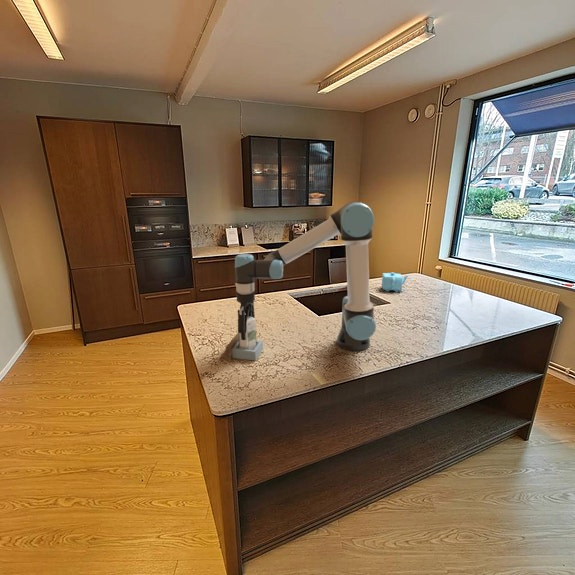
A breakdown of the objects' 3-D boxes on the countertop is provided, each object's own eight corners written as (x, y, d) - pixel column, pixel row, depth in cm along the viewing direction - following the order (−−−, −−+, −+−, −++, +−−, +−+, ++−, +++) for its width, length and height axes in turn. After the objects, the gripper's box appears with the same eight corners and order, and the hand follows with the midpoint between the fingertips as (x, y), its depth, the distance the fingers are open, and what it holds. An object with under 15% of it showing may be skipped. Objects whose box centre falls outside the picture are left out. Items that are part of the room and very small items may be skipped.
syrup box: (247, 344, 145) (246, 314, 141) (257, 348, 141) (256, 318, 137) (238, 349, 141) (236, 318, 136) (247, 353, 137) (246, 322, 133)
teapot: (383, 293, 223) (385, 275, 219) (381, 286, 238) (382, 269, 234) (410, 294, 220) (412, 276, 216) (406, 287, 235) (408, 270, 231)
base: (242, 345, 149) (241, 333, 147) (230, 360, 136) (230, 347, 134) (232, 344, 150) (231, 332, 148) (219, 358, 137) (219, 346, 135)
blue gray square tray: (262, 349, 145) (262, 340, 144) (255, 360, 136) (255, 351, 134) (241, 346, 147) (240, 338, 146) (232, 357, 138) (232, 349, 137)
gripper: (245, 284, 143) (247, 331, 150) (227, 298, 124) (230, 351, 131) (261, 285, 142) (262, 332, 148) (245, 300, 123) (248, 353, 130)
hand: (247, 341), depth 140 cm, fingers closed on syrup box, 7 cm apart
